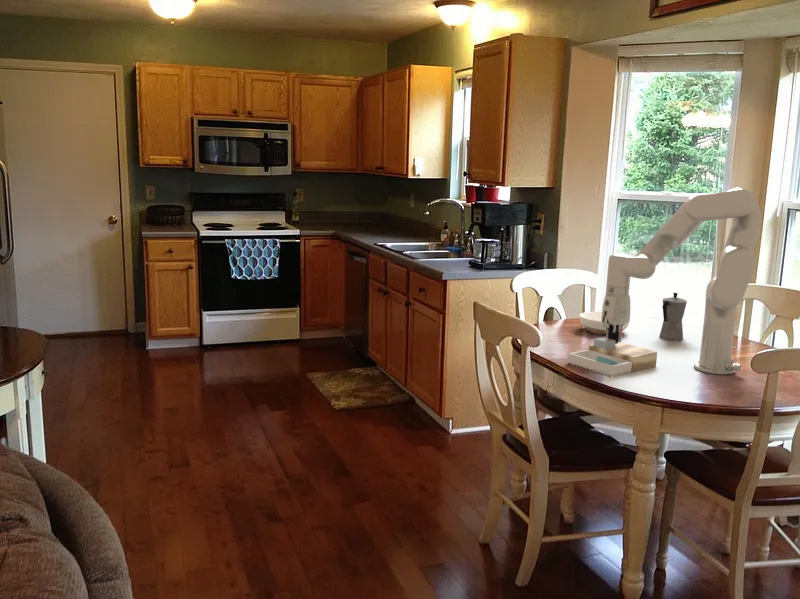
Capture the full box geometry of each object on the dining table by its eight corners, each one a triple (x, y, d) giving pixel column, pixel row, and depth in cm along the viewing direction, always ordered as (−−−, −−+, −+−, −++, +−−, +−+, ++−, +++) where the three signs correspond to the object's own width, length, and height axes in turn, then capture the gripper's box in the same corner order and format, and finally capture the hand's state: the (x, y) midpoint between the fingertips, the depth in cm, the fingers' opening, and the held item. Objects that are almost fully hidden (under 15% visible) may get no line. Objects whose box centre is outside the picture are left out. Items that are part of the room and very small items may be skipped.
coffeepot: (667, 333, 296) (672, 289, 292) (690, 337, 289) (695, 292, 285) (648, 338, 285) (653, 293, 282) (672, 343, 278) (676, 297, 275)
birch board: (655, 366, 247) (657, 351, 246) (632, 371, 240) (633, 357, 239) (612, 353, 261) (613, 340, 260) (588, 359, 254) (589, 345, 253)
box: (631, 372, 239) (632, 361, 239) (611, 377, 234) (612, 366, 233) (587, 359, 254) (588, 349, 253) (567, 363, 248) (568, 353, 247)
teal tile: (609, 359, 236) (607, 366, 236) (618, 363, 239) (615, 370, 239) (597, 355, 240) (594, 363, 239) (605, 359, 243) (603, 366, 243)
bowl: (600, 339, 283) (601, 323, 281) (568, 328, 300) (569, 313, 299) (639, 335, 291) (640, 320, 290) (605, 324, 308) (607, 310, 307)
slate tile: (614, 347, 250) (615, 340, 250) (604, 349, 248) (605, 342, 247) (603, 344, 255) (604, 337, 254) (593, 345, 252) (594, 338, 251)
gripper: (612, 294, 243) (607, 348, 246) (640, 290, 251) (635, 342, 255) (594, 290, 248) (589, 343, 252) (622, 287, 257) (617, 337, 261)
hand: (612, 342), depth 253 cm, fingers closed
